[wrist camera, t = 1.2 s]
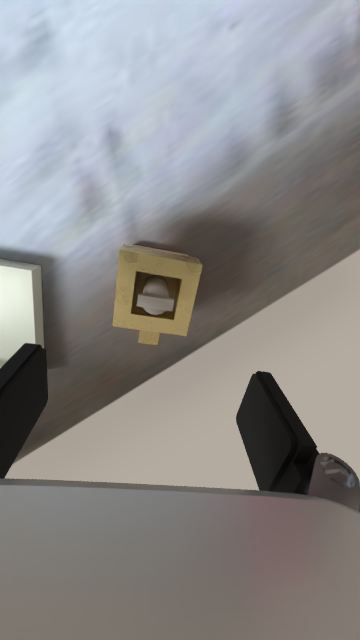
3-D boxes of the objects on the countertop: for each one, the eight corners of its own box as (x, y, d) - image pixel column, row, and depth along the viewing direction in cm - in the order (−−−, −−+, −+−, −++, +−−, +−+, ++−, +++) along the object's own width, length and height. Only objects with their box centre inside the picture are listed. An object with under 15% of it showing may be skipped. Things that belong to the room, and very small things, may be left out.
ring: (197, 257, 24) (202, 264, 21) (180, 338, 27) (182, 353, 25) (124, 244, 23) (119, 249, 20) (115, 330, 26) (110, 344, 24)
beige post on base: (177, 304, 30) (183, 339, 22) (127, 296, 29) (115, 330, 21) (187, 254, 28) (198, 274, 20) (133, 244, 27) (122, 261, 19)
